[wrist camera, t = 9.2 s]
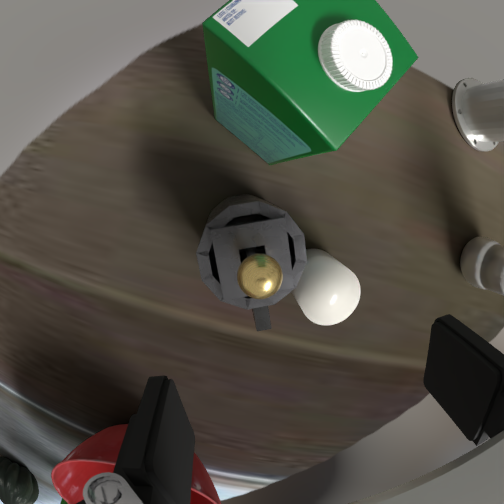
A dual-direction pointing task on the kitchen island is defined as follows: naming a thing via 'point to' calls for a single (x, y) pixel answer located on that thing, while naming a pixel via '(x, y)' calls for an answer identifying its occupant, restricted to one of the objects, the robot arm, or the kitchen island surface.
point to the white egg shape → (326, 289)
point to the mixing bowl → (104, 459)
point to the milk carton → (300, 71)
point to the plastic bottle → (484, 264)
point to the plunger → (257, 267)
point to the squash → (16, 484)
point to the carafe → (246, 236)
